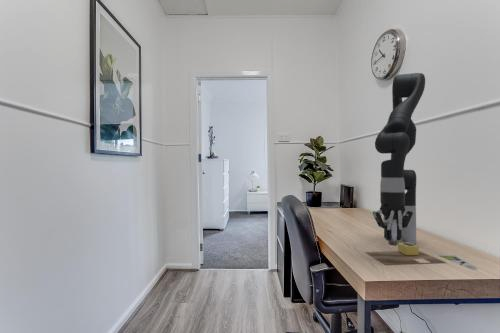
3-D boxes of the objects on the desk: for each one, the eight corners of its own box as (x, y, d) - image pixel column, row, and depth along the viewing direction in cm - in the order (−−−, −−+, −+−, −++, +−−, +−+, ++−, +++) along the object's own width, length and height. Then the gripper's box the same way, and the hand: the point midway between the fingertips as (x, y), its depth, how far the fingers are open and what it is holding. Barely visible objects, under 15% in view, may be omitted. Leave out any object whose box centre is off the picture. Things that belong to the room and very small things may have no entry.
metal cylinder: (386, 243, 94) (386, 217, 94) (394, 243, 95) (394, 217, 94) (391, 245, 92) (391, 219, 91) (399, 245, 92) (399, 219, 92)
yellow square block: (398, 251, 104) (397, 242, 104) (409, 250, 104) (409, 241, 104) (406, 255, 99) (406, 245, 99) (418, 254, 99) (418, 245, 99)
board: (364, 256, 103) (364, 252, 103) (418, 254, 105) (418, 250, 105) (385, 269, 89) (385, 265, 89) (447, 267, 91) (447, 262, 91)
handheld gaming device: (449, 266, 90) (429, 253, 105) (449, 268, 90) (429, 255, 105) (479, 268, 89) (454, 254, 103) (479, 270, 89) (455, 256, 103)
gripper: (404, 189, 97) (405, 236, 97) (367, 189, 96) (367, 237, 96) (419, 191, 90) (419, 242, 90) (378, 191, 89) (379, 243, 89)
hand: (392, 239), depth 93 cm, fingers closed on metal cylinder, 2 cm apart
